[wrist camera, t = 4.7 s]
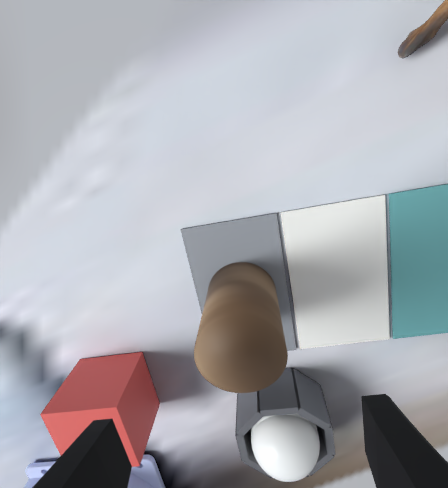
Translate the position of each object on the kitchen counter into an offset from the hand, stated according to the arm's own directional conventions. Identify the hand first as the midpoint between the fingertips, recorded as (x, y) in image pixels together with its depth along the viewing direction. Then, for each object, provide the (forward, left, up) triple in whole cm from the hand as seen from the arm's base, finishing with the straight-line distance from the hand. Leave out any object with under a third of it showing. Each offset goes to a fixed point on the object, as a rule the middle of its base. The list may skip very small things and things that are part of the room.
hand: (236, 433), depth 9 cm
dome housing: (+1, -8, -8) cm, 12 cm away
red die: (-9, -5, -8) cm, 13 cm away
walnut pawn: (0, 0, -8) cm, 8 cm away
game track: (+5, 0, -8) cm, 10 cm away
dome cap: (+1, -8, -8) cm, 11 cm away
